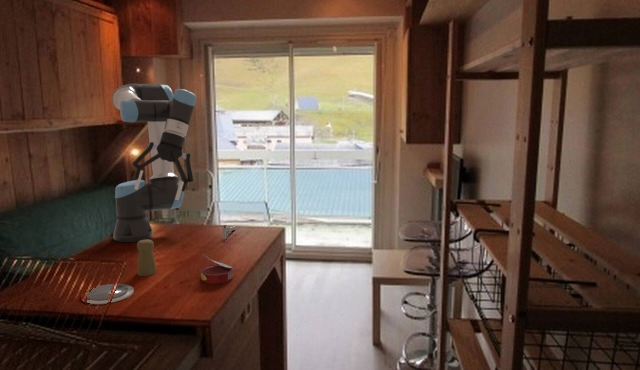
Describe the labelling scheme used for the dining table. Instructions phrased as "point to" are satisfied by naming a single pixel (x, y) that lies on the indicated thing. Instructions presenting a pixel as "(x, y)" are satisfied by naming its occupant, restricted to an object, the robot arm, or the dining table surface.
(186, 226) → the dining table surface
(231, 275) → the canned food
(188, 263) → the dining table surface
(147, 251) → the cork
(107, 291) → the seat plate
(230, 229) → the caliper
